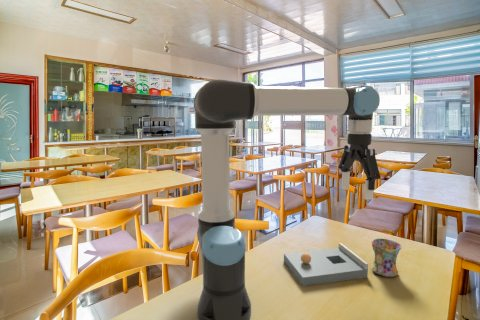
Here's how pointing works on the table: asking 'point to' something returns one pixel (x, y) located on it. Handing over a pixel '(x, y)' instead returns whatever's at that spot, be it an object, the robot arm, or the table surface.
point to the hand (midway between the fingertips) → (356, 193)
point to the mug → (385, 257)
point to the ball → (305, 258)
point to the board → (327, 266)
